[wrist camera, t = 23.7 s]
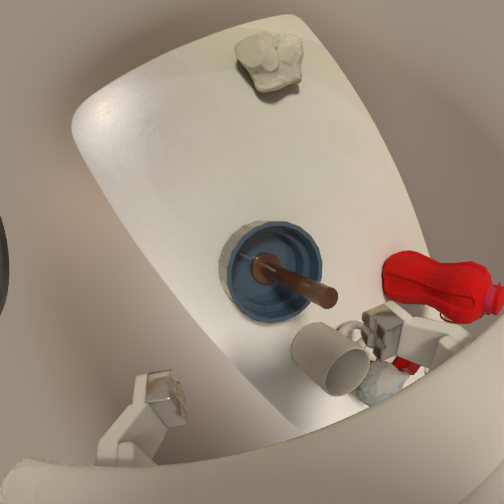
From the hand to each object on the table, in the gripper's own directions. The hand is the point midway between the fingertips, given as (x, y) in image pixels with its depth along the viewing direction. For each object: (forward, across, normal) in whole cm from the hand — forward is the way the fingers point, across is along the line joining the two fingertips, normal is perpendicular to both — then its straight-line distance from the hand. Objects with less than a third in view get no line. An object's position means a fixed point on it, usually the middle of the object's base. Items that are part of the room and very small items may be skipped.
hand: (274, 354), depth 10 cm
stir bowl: (+28, -5, +10) cm, 30 cm away
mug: (+26, -13, +25) cm, 38 cm away
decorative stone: (+36, -14, -20) cm, 43 cm away
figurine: (+24, -21, +36) cm, 48 cm away
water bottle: (+29, -32, +21) cm, 48 cm away
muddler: (+28, -6, +10) cm, 30 cm away
